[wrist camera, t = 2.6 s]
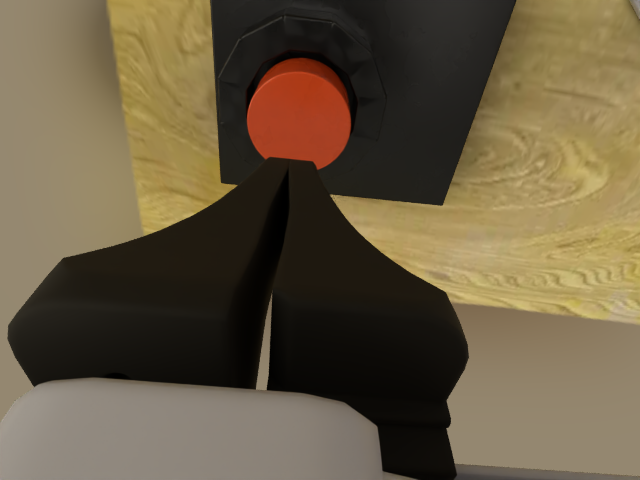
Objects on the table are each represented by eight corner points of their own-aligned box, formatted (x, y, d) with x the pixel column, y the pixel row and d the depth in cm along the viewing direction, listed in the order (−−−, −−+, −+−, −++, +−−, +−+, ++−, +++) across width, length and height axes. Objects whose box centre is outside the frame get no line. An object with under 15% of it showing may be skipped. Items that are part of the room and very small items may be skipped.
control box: (501, -16, 17) (541, -5, 14) (434, 185, 23) (451, 225, 20) (219, -54, 16) (193, -50, 13) (228, 164, 22) (212, 202, 19)
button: (356, 63, 15) (359, 78, 14) (341, 155, 18) (343, 177, 16) (255, 51, 15) (246, 65, 14) (254, 146, 18) (247, 167, 16)
